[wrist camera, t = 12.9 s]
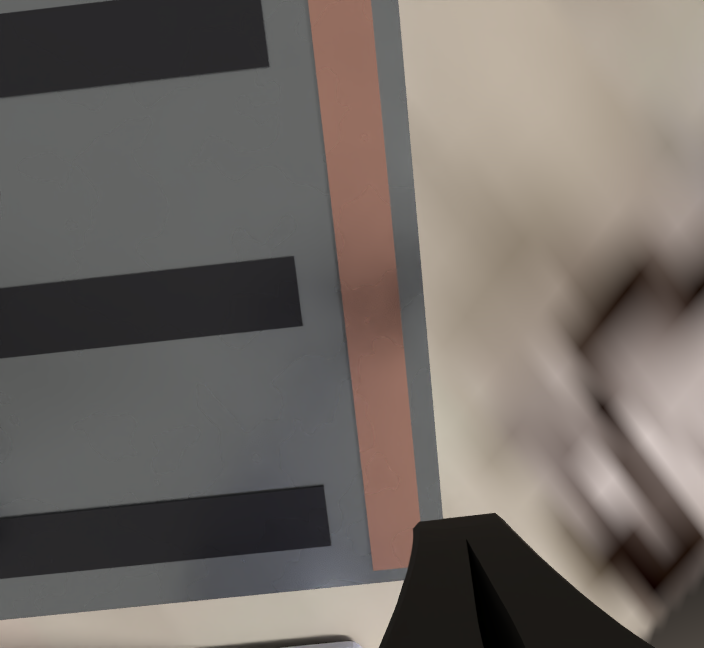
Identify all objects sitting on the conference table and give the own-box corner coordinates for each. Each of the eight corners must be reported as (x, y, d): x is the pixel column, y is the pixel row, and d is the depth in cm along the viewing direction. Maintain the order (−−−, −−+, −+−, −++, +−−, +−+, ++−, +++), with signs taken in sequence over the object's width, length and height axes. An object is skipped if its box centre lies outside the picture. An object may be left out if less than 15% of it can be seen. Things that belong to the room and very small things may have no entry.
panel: (441, 549, 22) (448, 577, 20) (-254, 618, 22) (-300, 651, 21) (389, -35, 18) (393, -56, 16) (-454, 65, 18) (-529, 55, 17)
